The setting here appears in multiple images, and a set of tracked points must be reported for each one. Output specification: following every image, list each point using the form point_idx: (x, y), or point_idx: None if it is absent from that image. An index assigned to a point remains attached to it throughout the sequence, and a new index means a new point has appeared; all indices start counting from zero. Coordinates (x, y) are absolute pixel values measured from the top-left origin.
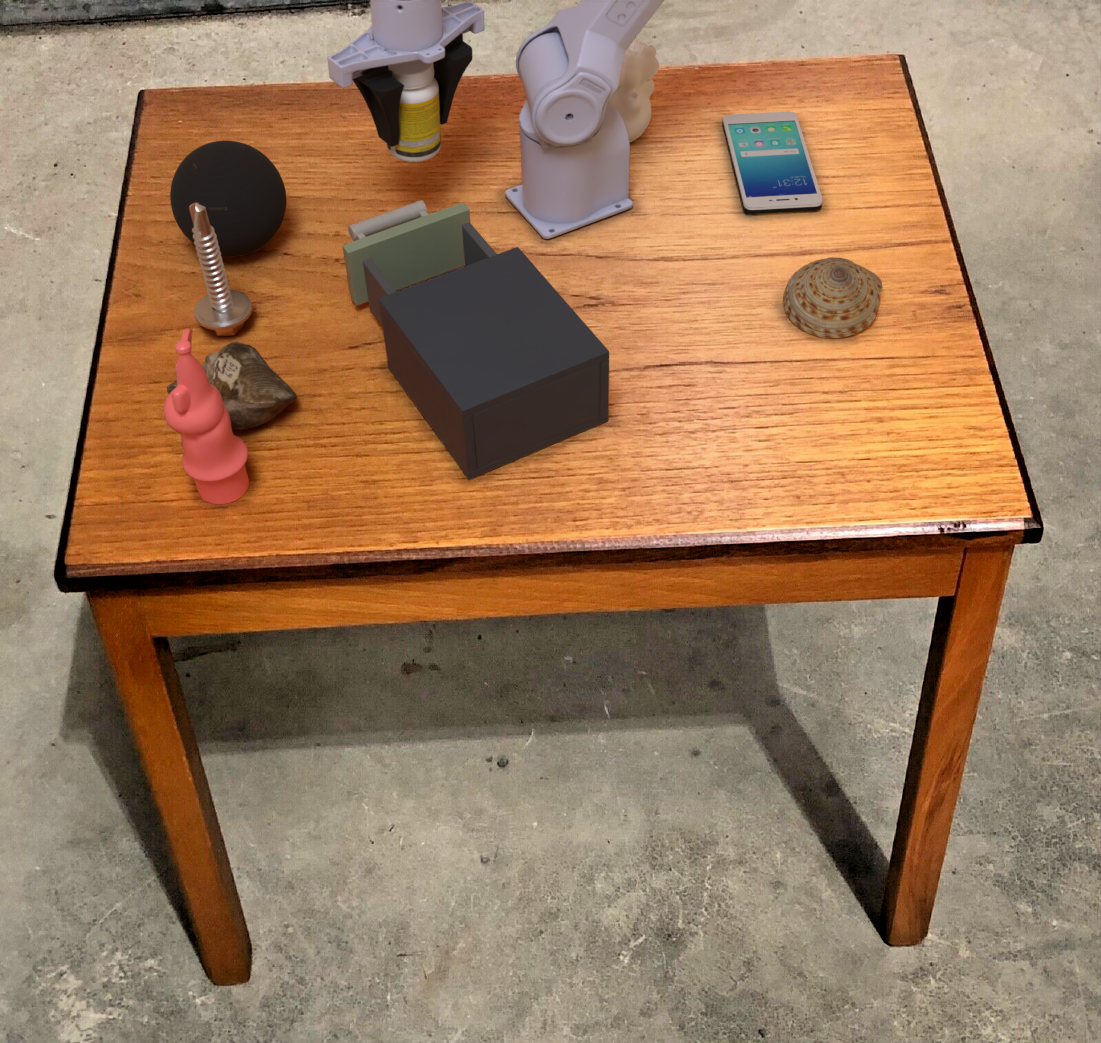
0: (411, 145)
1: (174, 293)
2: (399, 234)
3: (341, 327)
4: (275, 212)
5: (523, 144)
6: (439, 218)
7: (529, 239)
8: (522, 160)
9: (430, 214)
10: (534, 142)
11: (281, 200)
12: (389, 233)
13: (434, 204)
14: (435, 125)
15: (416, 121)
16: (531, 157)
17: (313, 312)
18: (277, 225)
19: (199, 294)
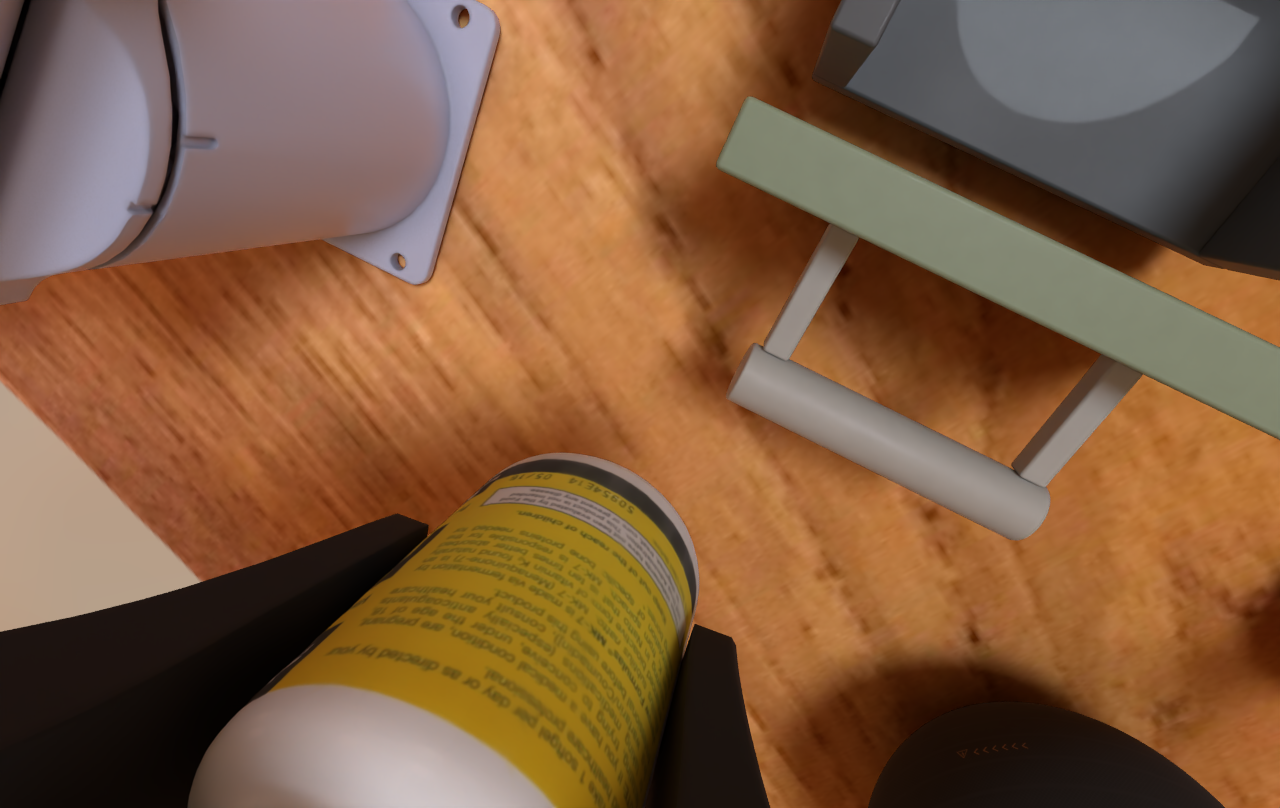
0: (659, 563)
1: (1274, 790)
2: (1129, 276)
3: (1251, 323)
4: (1074, 778)
5: (237, 162)
6: (903, 178)
7: (528, 78)
8: (308, 182)
9: (894, 242)
10: (178, 47)
11: (1017, 792)
12: (1143, 325)
13: (576, 427)
14: (485, 533)
15: (586, 643)
16: (270, 92)
17: (1206, 442)
18: (1042, 730)
19: (1252, 739)
